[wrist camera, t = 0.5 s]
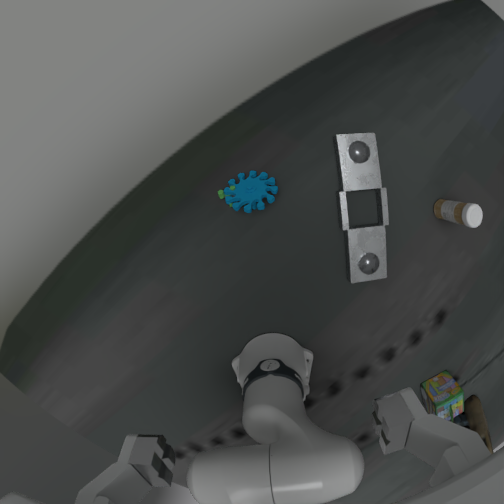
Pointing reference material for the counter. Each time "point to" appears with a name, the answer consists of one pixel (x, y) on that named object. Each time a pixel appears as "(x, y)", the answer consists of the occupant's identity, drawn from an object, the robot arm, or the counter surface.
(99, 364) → the counter surface
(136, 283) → the counter surface
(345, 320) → the counter surface
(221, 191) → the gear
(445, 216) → the sprinkles bottle
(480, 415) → the brown frame
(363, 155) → the grey long flat block
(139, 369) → the counter surface
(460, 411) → the chalk box
